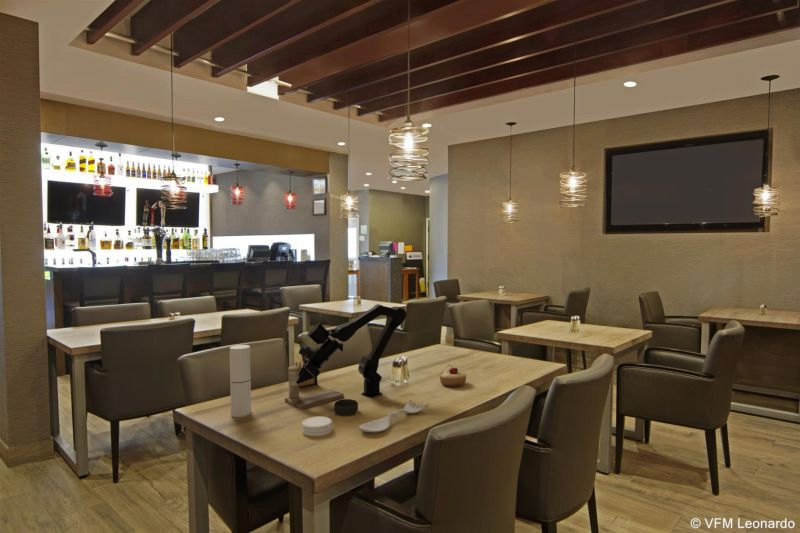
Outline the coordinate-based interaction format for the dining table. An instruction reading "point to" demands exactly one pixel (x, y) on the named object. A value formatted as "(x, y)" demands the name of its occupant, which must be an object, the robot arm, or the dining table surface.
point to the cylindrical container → (240, 380)
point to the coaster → (317, 426)
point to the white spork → (385, 422)
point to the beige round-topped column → (293, 384)
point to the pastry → (452, 378)
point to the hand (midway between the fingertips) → (297, 380)
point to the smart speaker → (346, 407)
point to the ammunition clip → (308, 382)
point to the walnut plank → (317, 399)
